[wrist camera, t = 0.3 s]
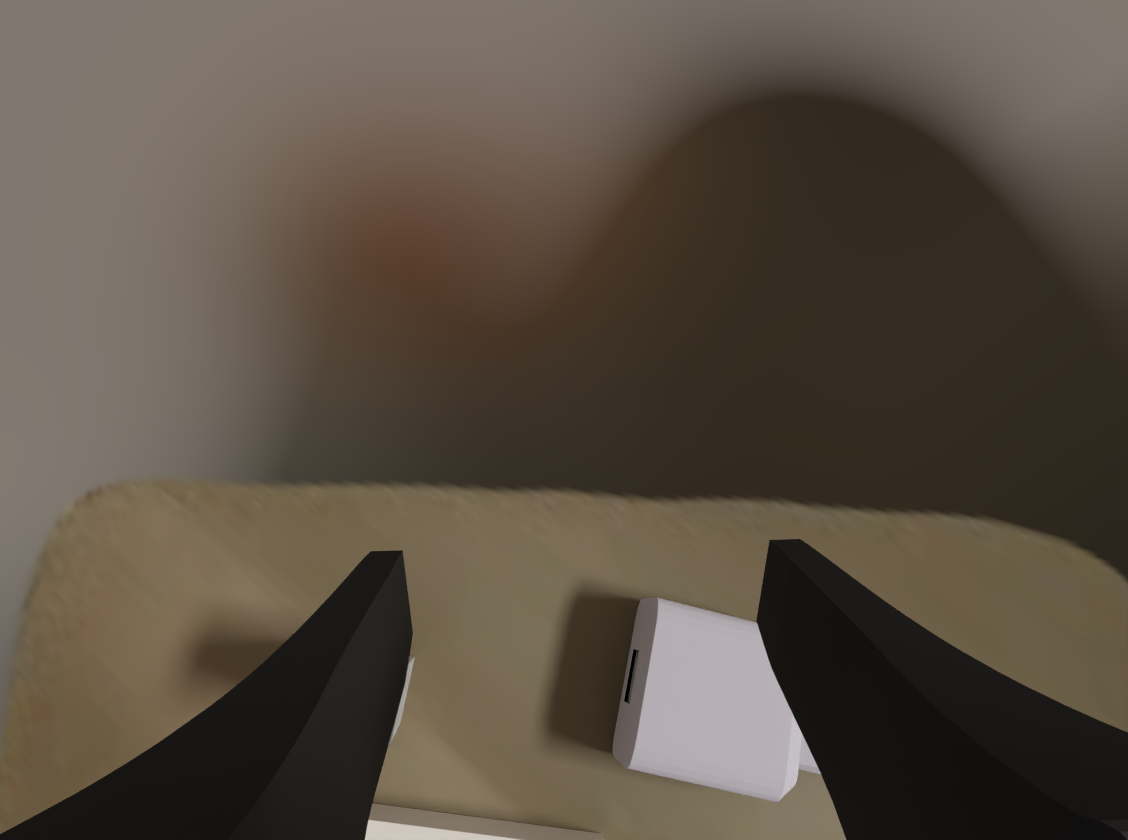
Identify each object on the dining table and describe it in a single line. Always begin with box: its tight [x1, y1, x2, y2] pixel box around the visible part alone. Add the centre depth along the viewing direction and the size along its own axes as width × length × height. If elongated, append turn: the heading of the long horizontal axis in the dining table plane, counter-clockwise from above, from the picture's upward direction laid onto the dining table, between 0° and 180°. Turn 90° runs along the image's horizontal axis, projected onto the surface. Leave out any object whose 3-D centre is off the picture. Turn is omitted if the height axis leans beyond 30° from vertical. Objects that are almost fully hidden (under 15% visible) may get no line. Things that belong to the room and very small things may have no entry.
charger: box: [612, 597, 821, 802], centre depth 38 cm, size 5×9×15 cm
